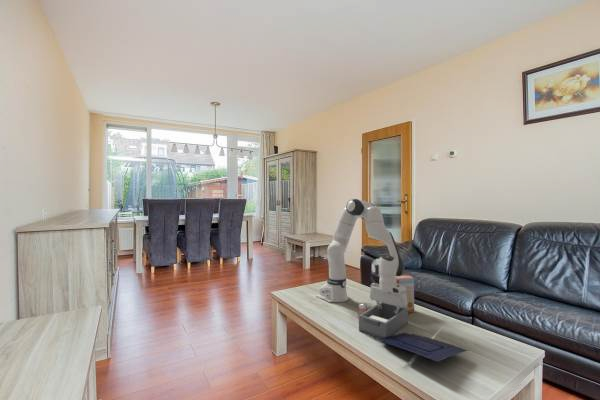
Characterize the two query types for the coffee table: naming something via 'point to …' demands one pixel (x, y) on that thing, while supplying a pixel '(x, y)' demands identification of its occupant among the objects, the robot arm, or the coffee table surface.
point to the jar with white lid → (363, 307)
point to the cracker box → (407, 290)
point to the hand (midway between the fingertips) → (388, 311)
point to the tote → (380, 327)
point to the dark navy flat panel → (423, 346)
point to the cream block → (378, 318)
